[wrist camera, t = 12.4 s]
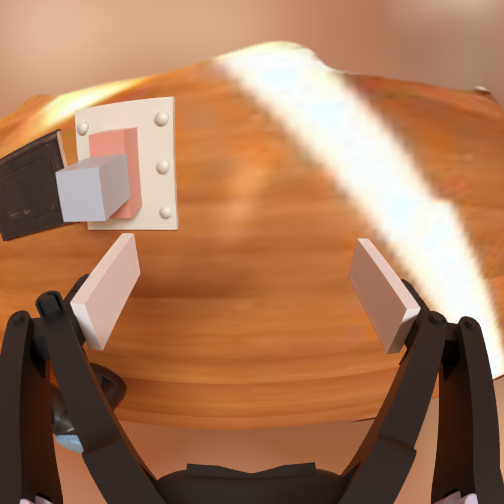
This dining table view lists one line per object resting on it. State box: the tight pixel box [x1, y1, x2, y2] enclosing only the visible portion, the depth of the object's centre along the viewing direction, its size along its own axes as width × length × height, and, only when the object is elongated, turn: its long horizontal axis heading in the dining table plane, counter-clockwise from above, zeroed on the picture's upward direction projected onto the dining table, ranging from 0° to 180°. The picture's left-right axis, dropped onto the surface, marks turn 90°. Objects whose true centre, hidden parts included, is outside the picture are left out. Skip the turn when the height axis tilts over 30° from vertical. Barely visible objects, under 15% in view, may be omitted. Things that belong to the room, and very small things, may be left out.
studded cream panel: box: [75, 97, 179, 230], centre depth 36 cm, size 16×20×6 cm
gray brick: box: [55, 154, 130, 222], centre depth 30 cm, size 6×6×8 cm
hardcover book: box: [0, 129, 74, 241], centre depth 39 cm, size 16×23×2 cm
